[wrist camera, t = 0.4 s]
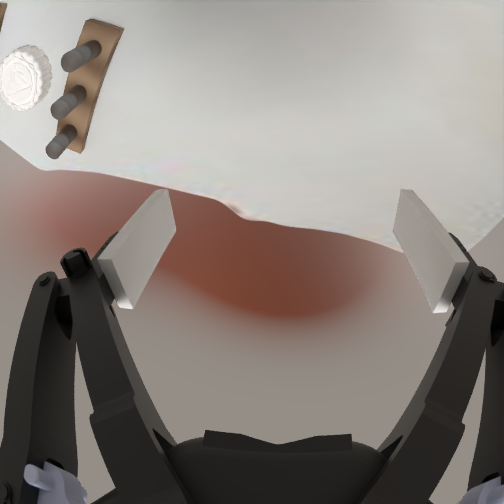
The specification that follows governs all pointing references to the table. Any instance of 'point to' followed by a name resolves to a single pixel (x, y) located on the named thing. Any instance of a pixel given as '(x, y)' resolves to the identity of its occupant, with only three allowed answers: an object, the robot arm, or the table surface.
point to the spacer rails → (80, 84)
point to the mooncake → (25, 78)
